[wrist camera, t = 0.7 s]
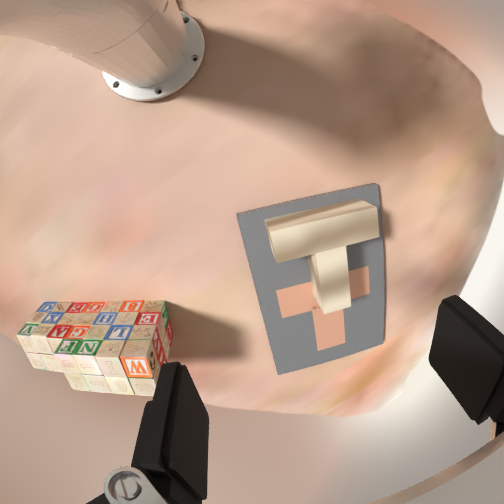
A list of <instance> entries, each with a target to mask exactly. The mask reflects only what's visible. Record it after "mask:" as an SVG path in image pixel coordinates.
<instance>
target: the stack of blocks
mask: <svg viewBox="0 0 504 504" xmlns="http://www.w3.org/2000/svg"><path fill="white" fill-rule="evenodd" d="M17 337H18V339H19V341H20V343H21V345H22V347H23V349H24V351H25V352H26V354H27V356H28V358H29V360H30V362H31V364H32V365H33V367H34V368H37V369H44V370H49V371H56V372H64V374H65V376H66V377H67V379H68V381H69V383H70V385H71V387H72V389H75V390H83V391H94V392H104V393H114V394H128V395H135V394H136V395H141V396H154V392H155V388H156V384H157V380H158V376H159V372H160V368H161V365H162V364H163V363H167V361H168V355H169V350H170V347H171V342H172V338H173V334H172V330H171V325H170V321H169V318H168V313H167V308H166V303H165V300H161V301H143V300H142V301H107V302H89V303H73V302H44V303H43V304H42V305H41V306H40V307H39V309H38V310H37V311H36V312H35V313H34V314H33V315H32V316H31V317H30V318H29V320H28V321H27V322H26V324H25V325H24V326H23V328H22V329H21V330H20V331H19V333H18V334H17Z"/></svg>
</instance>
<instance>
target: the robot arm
mask: <svg viewBox="0 0 504 504" xmlns="http://www.w3.org/2000/svg"><path fill="white" fill-rule="evenodd" d="M185 22H188V23H185ZM0 36H16V37H22V38H27V39H30V40H34V41H37V42H40V43H43V44H45V45H48V46H50V47H53V48H55V49H57V50H60V51H62V52H64V53H66V54H68V55H70V56H72V57H74V58H77V59H79V60H81V61H83V62H85V63H87V64H89V65H91V66H93V67H95V68H97V69H99V70H101V71H102V74H103V77H104V80H105V81H106V83H107V85H108V86H109V87H110V88H111V89H112V90H113V91H114V92H115V93H117V94H118V95H120V96H122V97H124V98H126V99H130V100H134V101H153V100H157V99H161V98H164V97H167V96H169V95H171V94H173V93H175V92H176V91H178V90H179V89H181V88H182V87H183V86H185V85H186V84H187V83H188V82H189V81H190V80H191V79H192V77H193V76H194V75H195V74H196V72H197V71H198V69H199V67H200V65H201V63H202V60H203V57H204V51H205V42H204V36H203V33H202V30H201V28H200V26H199V25H198V23H197V22H196V21H195V20H194V19H193V18H192V17H191V16H189V15H188V14H186V13H184V12H182V11H179V8H178V5H177V3H176V0H0ZM195 58H197V59H198V60H197V61H193V60H194V59H195ZM118 84H119V87H117V85H118ZM160 90H162V93H161V94H159V93H158V92H159V91H160ZM429 362H430V365H431V366H432V367H433V369H434V370H435V371H436V372H437V373H438V375H439V376H440V378H441V379H442V380H443V382H444V383H445V384H446V386H447V387H448V388H449V390H450V391H451V392H452V394H453V395H454V396H455V398H456V399H457V401H458V402H459V403H460V405H461V406H462V407H463V409H464V410H465V412H466V413H467V415H468V416H469V417H470V419H471V420H475V421H476V423H477V424H478V425H479V424H480V423H482V422H484V421H485V420H486V419H488V417H489V416H490V417H491V419H492V423H491V432H490V440H489V443H487V444H486V445H484V446H483V447H482V448H480V449H479V450H477V451H476V452H474V453H472V454H471V455H469V456H468V457H466V458H464V459H463V460H461V461H460V462H458V463H456V464H455V465H452V466H451V467H449V468H447V469H445V470H444V471H442V472H440V473H438V474H436V475H434V476H432V477H430V478H429V479H426V480H424V481H422V482H420V483H418V484H416V485H414V486H411V487H409V488H407V489H405V490H402V491H400V492H398V493H395V494H393V495H390V496H388V497H385V498H382V499H380V500H377V501H374V502H371V503H369V504H504V335H503V334H502V333H501V332H500V331H499V330H498V329H496V328H495V327H494V326H493V325H492V324H491V323H490V322H488V321H487V320H486V319H485V318H484V317H483V316H482V315H480V314H479V313H478V312H477V311H476V310H474V309H473V308H472V307H471V306H470V305H468V304H467V303H466V302H465V301H463V300H462V299H461V298H460V297H459V296H457V295H453V296H450V297H448V298H445V299H443V300H442V302H441V304H440V305H439V309H438V314H437V320H436V325H435V331H434V335H433V340H432V345H431V349H430V353H429ZM208 436H209V416H208V413H207V411H206V408H205V406H204V404H203V402H202V400H201V398H200V396H199V394H198V391H197V389H196V387H195V385H194V383H193V380H192V378H191V376H190V374H189V371H188V369H187V367H186V366H185V365H181V364H180V363H179V362H170V363H163V364H162V365H161V368H160V372H159V376H158V380H157V384H156V388H155V392H154V396H153V400H152V401H148V402H147V403H146V405H145V408H144V412H143V416H142V421H141V424H140V428H139V433H138V437H137V441H136V446H135V450H134V455H133V459H132V464H131V467H120V468H118V469H116V470H114V471H113V472H111V473H110V474H109V475H108V476H107V478H106V479H105V482H104V492H105V493H103V494H102V495H100V496H98V497H97V498H95V499H93V500H92V501H90V502H88V503H86V504H202V500H205V499H206V498H207V470H208Z"/></svg>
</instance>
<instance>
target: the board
mask: <svg viewBox="0 0 504 504" xmlns="http://www.w3.org/2000/svg"><path fill="white" fill-rule="evenodd" d="M357 198H359V199H361V200H363V201H365V202H368V203H370V204H372V205H374V206H376V207H377V213H378V224H379V237H377V238H374V239H370V240H366V241H362V242H358V243H355V244H351V245H347V246H346V252H347V262H348V273H349V284H350V297H351V307H348V308H344V309H341V310H338V311H334V312H331V313H327V314H324V313H323V312H322V310H321V308H320V306H319V304H318V302H317V300H316V298H315V297H314V295H313V289H312V282H311V276H310V270H309V263H308V257H307V256H304V257H300V258H296V259H292V260H288V261H284V262H280V263H277V262H276V260H275V257H274V255H273V252H272V250H271V247H270V243H269V238H268V234H267V229H266V225H265V221H264V220H265V219H269V218H273V217H278V216H282V215H286V214H290V213H295V212H299V211H303V210H307V209H312V208H316V207H321V206H325V205H330V204H334V203H339V202H343V201H348V200H352V199H357ZM236 215H237V219H238V223H239V227H240V231H241V235H242V239H243V242H244V246H245V250H246V254H247V258H248V262H249V266H250V270H251V273H252V277H253V281H254V285H255V289H256V293H257V297H258V300H259V304H260V308H261V312H262V316H263V320H264V323H265V327H266V331H267V335H268V339H269V342H270V346H271V350H272V354H273V358H274V361H275V365H276V369H277V373H278V375H280V374H284V373H288V372H292V371H296V370H300V369H304V368H308V367H311V366H315V365H318V364H322V363H325V362H329V361H332V360H335V359H339V358H342V357H345V356H348V355H351V354H354V353H357V352H360V351H363V350H366V349H369V348H372V347H375V346H378V345H380V344H383V338H384V306H385V284H384V251H383V234H382V220H381V209H380V199H379V190H378V184H376V183H372V184H367V185H362V186H357V187H352V188H347V189H342V190H337V191H333V192H328V193H323V194H319V195H314V196H310V197H305V198H301V199H296V200H292V201H287V202H283V203H279V204H274V205H270V206H266V207H262V208H258V209H254V210H249V211H245V212H241V213H237V214H236Z"/></svg>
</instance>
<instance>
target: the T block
mask: <svg viewBox="0 0 504 504" xmlns="http://www.w3.org/2000/svg"><path fill="white" fill-rule="evenodd" d="M264 221H265V225H266V229H267V234H268V238H269V243H270V247H271V250H272V252H273V255H274V257H275V260H276V262H277V263H280V262H284V261H288V260H292V259H296V258H300V257H304V256H307V257H308V263H309V270H310V276H311V282H312V289H313V295H314V297H315V298H316V300H317V302H318V304H319V306H320V308H321V310H322V312H323V313H324V314H327V313H331V312H334V311H338V310H341V309H344V308H348V307H351V297H350V284H349V273H348V262H347V252H346V246H347V245H351V244H355V243H358V242H362V241H366V240H370V239H374V238H377V237H379V224H378V213H377V207H376V206H374V205H372V204H370V203H368V202H365V201H363V200H361V199H359V198H357V199H352V200H348V201H343V202H339V203H334V204H330V205H325V206H321V207H316V208H312V209H307V210H303V211H299V212H295V213H290V214H286V215H282V216H278V217H273V218H269V219H265V220H264Z"/></svg>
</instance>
